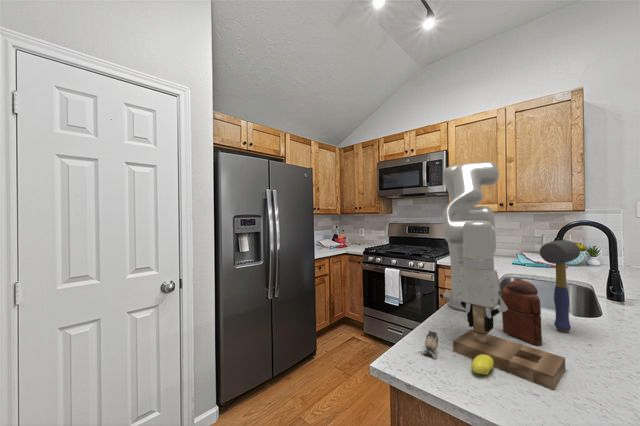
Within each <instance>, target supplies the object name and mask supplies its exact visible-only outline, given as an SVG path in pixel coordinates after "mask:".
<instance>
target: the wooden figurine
mask: <svg viewBox="0 0 640 426" xmlns="http://www.w3.org/2000/svg"><path fill="white" fill-rule="evenodd" d="M538 293H539V292H538V289H537V287H536V286H535V285H534V284H533V283H531V282H530V281H527V280H524V279H523V280H521V279H516V280H512V281H510V282H509V283H508V284H507V285H505V286H504V287H503V288H502V290H501V298H502V300H503V301H504V303H505V305H506V306H507V308H508V310H507V311H505V312H502V313H501V315H502V316H501V317H502V331H503V332H504V333H505V334H507V335H509V336H510V337H514V338H516V339H520V340H521V341H524V342H527V343H528V344H531V345H534V346H542V344H543V337H542V335H543V334H542V316H541V314H542V311H541V309H542V308H541V300H540V298H539V296H538Z"/></svg>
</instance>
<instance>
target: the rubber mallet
mask: <svg viewBox="0 0 640 426" xmlns="http://www.w3.org/2000/svg"><path fill="white" fill-rule="evenodd" d="M539 254H540V255H539V256H540V257H541V259H542V260H544V261H545V262H547V263H549V264H551V265H553V264H554V265H555V286H554V292H553V301H554V308H555V320H554V327H555V328H556V330H557V331H559V332H563V333H569V332H570V330H571V329H572V327H571V323H570V318H569V317H570V314H569V313H570V312H569V311H570V294H569V290H568V286H567V269H566V268H567V267H566V264H567V263H570V262H572V261H574V260H576V259H577V258H578V257H579V256H580V255H581V249H580V247H579V245H578V244H577V243H575V242H573V241H572V240H566V239H564V240H562V239H561V240H560V239H559V240H553V241H550V242H547V243H544V244H543V245H542V246H541V247H540V249H539Z"/></svg>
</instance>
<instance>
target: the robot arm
mask: <svg viewBox="0 0 640 426" xmlns="http://www.w3.org/2000/svg"><path fill="white" fill-rule="evenodd" d="M499 176H500V175H499V169H498V167H497V165H496V164H495V162H492V161H485V162H483V161H481V162H472V163H463V164H457V165H451V166H448V167H446V168H444V169H443V172H442V178H443V179H442V181H443V183H444V186H445V189H446V191H447V194H448V196H449V202H448V204H447V205H446V206H445V208H444V210H443V213H442V233H443V237H444V240H445V241H446V243H447V244H448V245H447V246H448V251H449V259H450V260H449V261H450V283H451V288H450V289H451V293H448V292H444V291H443V295H442V297H443V298H444V299H448V301H447V305H448V306H449V307H450V308H452V309H453V310H454V309H455V310H457V311H461V312H462V311H463V312H466V315H467V316H466V318H467V321H466V322H467V323H468V327H469V328H473V307H472V304H473V305H477V306H482V307H485V310H486V317H485V331H486V332H488V333H489V332H490V331H492V330H493V329H494V317H495V316H496V315H498V314H502V312H505V311H507V310H508V308H507V306H506V305H505V303H504V301H503V300H502V290H501V283H500V279H499V275H498V271H497V270H496V269H495V257H494V255H495V253H496V249H497V238H496V237H497V236H496V234H497V233H496V218H495V214H494V211H493V209H492V208H491V207H490V206H486V205H482V206H478V205H479V204H480V203H481V202H482V200H483V198H484V197H483V191H482V186H493V185H495V184H497V182H498V180H499Z"/></svg>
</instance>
